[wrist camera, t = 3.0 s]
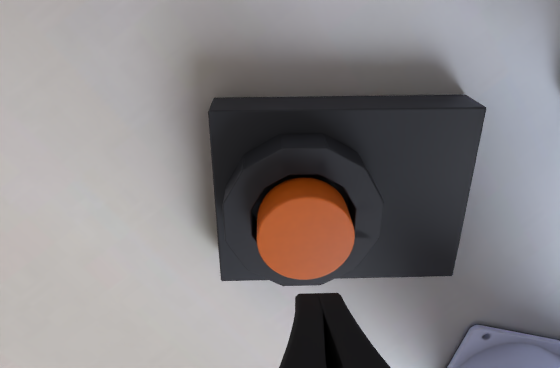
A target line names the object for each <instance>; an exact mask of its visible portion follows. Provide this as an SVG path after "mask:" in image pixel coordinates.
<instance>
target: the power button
mask: <svg viewBox="0 0 560 368" xmlns="http://www.w3.org/2000/svg"><path fill="white" fill-rule="evenodd" d="M354 240H355V231H354V226H353V223H352V220H351V217H350V214H349V211H348V208H347V206H346V203H345V201H344V199H343V197H342V195H341V194H340V193H339V192H338V191H337V190H336V189H335V188H334V187H333V186H331V185H330V184H328V183H326V182H324V181H322V180H318V179H314V178H305V177H303V178H294V179H290V180H287V181H284V182H282V183H280V184H278V185H277V186H275V187H274V188H273V189H271V190H270V191H269V192H268V193H267V194H266V196H265V197H264V198H263V200H262V202H261V204H260V206H259V209H258V214H257V247H258V251H259V253H260V256H261V257H262V259H263V260H264V262H265V263H266V264H267V265H268V266H269V267H270V268H271V269H272V270H274V271H275V272H277V273H279V274H280V275H283V276H285V277H288V278H292V279H299V280H308V279H315V278H319V277H323V276H325V275H328V274H330V273H331V272H333V271H335V270H336V269H338V268H339V267H340V266H341V265H342V264H343V263H344V262H345V261H346V260H347V258H348V257H349V255H350V253H351V251H352V249H353V245H354Z"/></svg>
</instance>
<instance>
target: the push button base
mask: <svg viewBox="0 0 560 368" xmlns="http://www.w3.org/2000/svg"><path fill="white" fill-rule="evenodd" d="M485 112H486V107H484V106H483V105H481V104H480V103H478V102H476V101H475V100H473V99H472V98H470V97H468V96H467V95H414V96H329V97H244V98H214V99H213V101H212V104H211V106H210V109H209V111H208V115H209V129H210V142H211V155H212V168H213V181H214V194H215V207H216V220H217V233H218V246H219V259H220V272H221V280H222V281H243V280H270V281H273V282H275V283H277V284H280V285H282V286H301V285H321V284H324V283H326V282H328V281H330V280H333V279H335V278H381V277H426V276H452V275H453V270H454V265H455V260H456V255H457V250H458V245H459V241H460V236H461V231H462V226H463V221H464V216H465V211H466V206H467V201H468V196H469V191H470V186H471V181H472V176H473V171H474V166H475V161H476V156H477V151H478V146H479V141H480V136H481V132H482V127H483V122H484V117H485ZM303 177H305V178H314V179H318V180H322V181H324V182H326V183H328V184H330V185H331V186H333V187H334V188H335V189H336V190H337V191H338V192H339V193H340V194H341V195H342V197H343V199H344V201H345V203H346V206H347V208H348V211H349V214H350V217H351V220H352V223H353V226H354V231H355V240H354V245H353V249H352V251H351V253H350V255H349V257H348V258H347V260H346V261H345V262H344V263H343V264H342V265H341V266H340V267H339V268H338V269H336V270H335V271H333V272H331V273H330V274H328V275H325V276H323V277H319V278H315V279H308V280H299V279H292V278H288V277H285V276H283V275H280V274H279V273H277V272H275V271H274V270H272V269H271V268H270V267H269V266H268V265H267V264H266V263H265V262H264V260H263V259H262V257H261V256H260V253H259V251H258V247H257V214H258V209H259V206H260V204H261V202H262V200H263V198H264V197H265V196H266V194H267V193H268V192H269V191H270V190H271V189H273V188H274V187H275V186H277V185H278V184H280V183H282V182H284V181H287V180H290V179H294V178H303Z"/></svg>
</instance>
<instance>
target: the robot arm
mask: <svg viewBox="0 0 560 368" xmlns="http://www.w3.org/2000/svg"><path fill="white" fill-rule="evenodd" d="M486 333H487V334H486ZM484 334H485V335H484ZM279 368H390V366H389V365H388V364H387V363H386V362H385V360H384V359H383V358H382V357H381V355H380V354H379V353H378V352H377V350H376V349H375V348H374V347H373V345H372V344H371V342H370V341H369V340H368V338H367V337H366V335H365V334H364V333H363V331H362V330H361V328H360V327H359V325H358V324H357V322H356V321H355V319H354V318H353V316H352V315H351V313H350V311H349V310H348V308H347V306H346V304H345V302H344V301H343V299H342V297H341V295H340V294H338V293H315V294H298V295H297V296H296V298H295V317H294V322H293V327H292V330H291V334H290V338H289V341H288V345H287V348H286V351H285V353H284V356H283V359H282V362H281V365H280V367H279ZM447 368H560V340H555V339H550V338H545V337H540V336H534V335H529V334H524V333H519V332H514V331H508V330H503V329H498V328H493V327H488V326H482V325H475V326H473V327H471V328H470V329H469V331H468V333H467V334H466V336H465V338H464V339H463V341H462V343H461V345H460V346H459V348H458V350H457V351H456V353H455V355H454V357H453V358H452V360H451V362H450V363H449V365H448V367H447Z"/></svg>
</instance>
